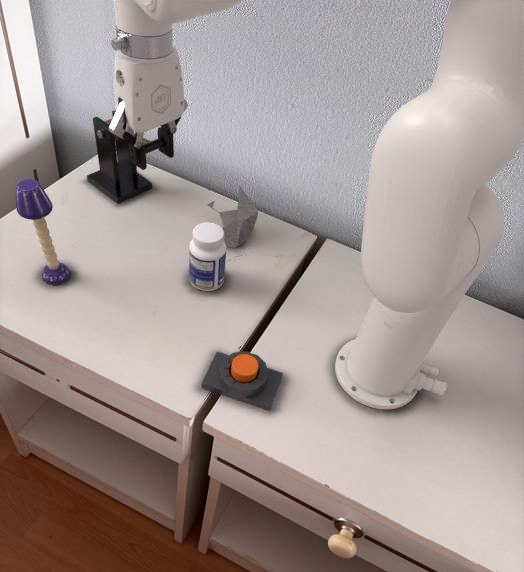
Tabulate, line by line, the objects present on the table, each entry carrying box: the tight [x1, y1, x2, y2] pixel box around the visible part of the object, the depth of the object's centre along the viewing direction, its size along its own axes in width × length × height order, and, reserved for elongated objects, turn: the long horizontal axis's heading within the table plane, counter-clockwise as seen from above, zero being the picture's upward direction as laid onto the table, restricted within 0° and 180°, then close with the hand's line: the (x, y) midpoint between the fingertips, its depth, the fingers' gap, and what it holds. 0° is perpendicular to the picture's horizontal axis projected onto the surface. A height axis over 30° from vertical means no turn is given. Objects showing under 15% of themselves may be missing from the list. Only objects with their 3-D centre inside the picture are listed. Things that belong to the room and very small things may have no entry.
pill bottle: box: [188, 221, 227, 292], centre depth 80 cm, size 6×6×10 cm
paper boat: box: [207, 185, 259, 249], centre depth 90 cm, size 12×6×9 cm
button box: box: [200, 350, 284, 412], centre depth 71 cm, size 10×6×3 cm, turn 73°
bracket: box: [86, 109, 153, 205], centre depth 92 cm, size 9×8×13 cm
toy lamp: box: [15, 178, 71, 286], centre depth 74 cm, size 5×5×17 cm
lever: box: [104, 117, 166, 155], centre depth 86 cm, size 12×5×2 cm, turn 48°
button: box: [231, 354, 258, 383], centre depth 70 cm, size 4×4×2 cm
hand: (152, 158), depth 85 cm, fingers closed on lever, 5 cm apart
